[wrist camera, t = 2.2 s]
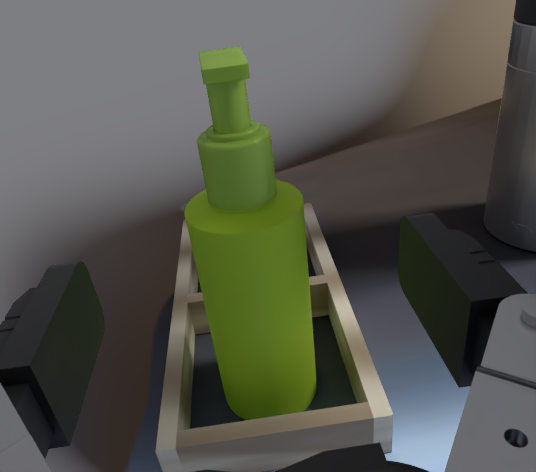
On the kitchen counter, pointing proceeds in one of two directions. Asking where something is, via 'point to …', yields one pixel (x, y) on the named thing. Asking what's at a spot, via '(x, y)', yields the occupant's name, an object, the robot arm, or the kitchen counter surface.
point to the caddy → (276, 427)
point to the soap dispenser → (250, 254)
